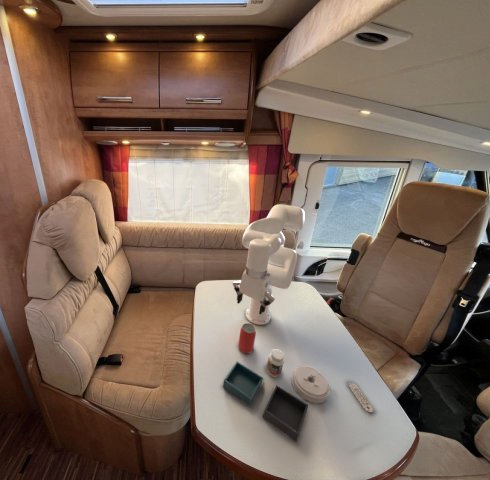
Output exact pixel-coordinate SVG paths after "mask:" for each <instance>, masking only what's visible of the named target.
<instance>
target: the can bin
mask: <svg viewBox="0 0 490 480" xmlns="http://www.w3.org/2000/svg"><path fill="white" fill-rule="evenodd" d="M308 408H309V404H308V403H306V402H305V401H303V400H301V399H299V398H298V397H297V396H295V395H293V394H292V393H291V392H288V390H286V389H284V388H282V387H281V386H280V385H278V384H276V385H275V387H274V389H273V390H272V392H271V395H270V397H269V400H268V402H267V404H266V406H265V408H264V410H263V414H262V418H263V419H264V420H265V421H266V422H269V423H270V424H271V425H272V426H274V427H275V428H276V429H278V430H279V431H280V432H282V433H283V434H284V435H286V437H289V438H290V439H291V440H293V441H294V442H295V443H297V441H298V439H299V437H300V433H301V430H302V427H303V424H304V421H305V417H306V414H307V412H308Z"/></svg>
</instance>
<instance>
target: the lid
mask: <svg viewBox="0 0 490 480" xmlns="http://www.w3.org/2000/svg"><path fill="white" fill-rule="evenodd" d="M290 381H291V385H292V387H293V389H294V390H295V392H296V393H297V394H298V395H299V396H300V397H301V398H302V399H304V400H305V401H308V402H310V403H315V404H319V403H320V404H321V403H323V402H325V401H326V400H327V398H328V396H329V394H330V391H331V390H330V384H329V381H328V380H327V378H326V377H325V375H323V373H321V372H320V371H319V370H318V369H316V368H314V367H311V366H309V365H298V366H296V367H295V368H294V369H293V371H292V375H291V379H290Z"/></svg>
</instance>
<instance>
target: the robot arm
mask: <svg viewBox="0 0 490 480" xmlns="http://www.w3.org/2000/svg"><path fill="white" fill-rule="evenodd" d="M305 214H306V213H305V211H304V209H303V208H302V207H301V206H295V205H290V204H284V203H283V204H281V203H280V204H279V203H277V204H275V205H274V206H272V207H271V209H270V210H269V212H268V214H267V216H266V217H264V218H261V219H257V220H255V221H253V222H251V223H250V224H249V225H248V226H247V228H246V229H245V230H244V233H243V236H242V237H241V244H242V246H243V247H244V248H245V249H248V250H247V259H246V266H245V269H244V271H243V273H242V276H241V279H240V280H235V281H233V282H232V286H233V289H234V292H235V294H236V303H237V304H238V305H239V304H241V302H242V301H243V297H244V296H246V297H248V298H250V302H249V307H247V308H246V310H245V317H246V319H247V320H248V321H249V322H250V323H251V324H254V325H257V326H263V325H268V324H269V322H271V315H270V313H269V311H270V305H271V304H272V303H273V302H275V300H276V298H275V297H274V296H273V287H275V288H278V289H281V290H288V289H289V288H290V286H291V284H292V281H293V277H294V273H295V269H296V265H297V261H298V252H297V251H296V250H295V249H293V248H290V247H285V244H286V238H285V235H284V233H283V232H282V231H283V230H288V231H292V232H300V231H301V230H303V227H304V225H305V220H306V219H305V217H306V216H305Z"/></svg>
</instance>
